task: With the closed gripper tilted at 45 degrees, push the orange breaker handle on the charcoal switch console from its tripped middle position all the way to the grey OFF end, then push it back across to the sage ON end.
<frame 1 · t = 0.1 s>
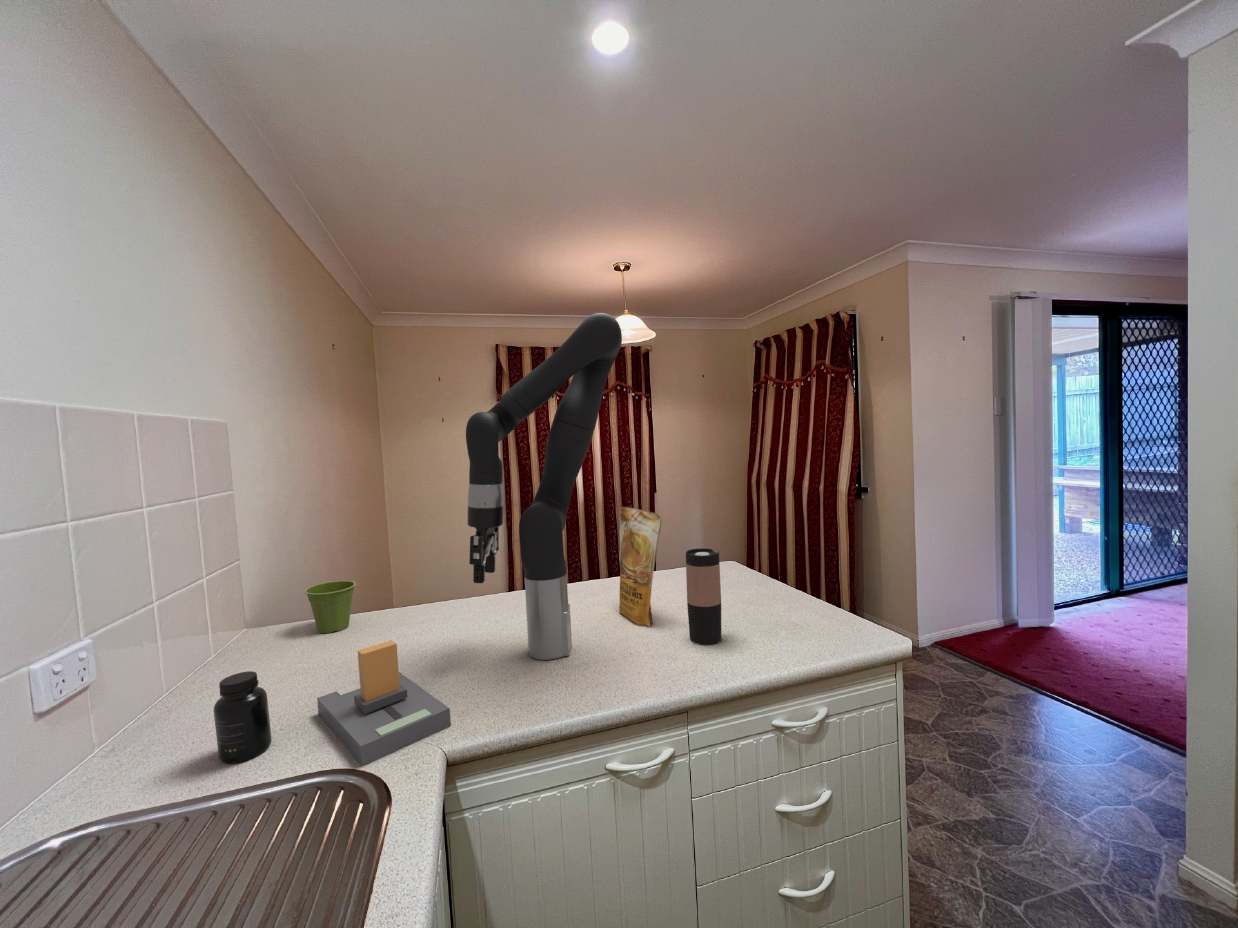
hand: (484, 577, 114), 17 cm above the countertop, tool pointing down, fingers open, 8 cm apart
switch console: (382, 719, 89), on the countertop
plant pot: (333, 629, 136), on the countertop
travel mug: (705, 639, 118), on the countertop
supplement bottle: (245, 752, 82), on the countertop
pancake mix bag: (638, 617, 134), on the countertop
breaker handle: (379, 673, 89), point 8 cm above the countertop, slide at 0.0 cm
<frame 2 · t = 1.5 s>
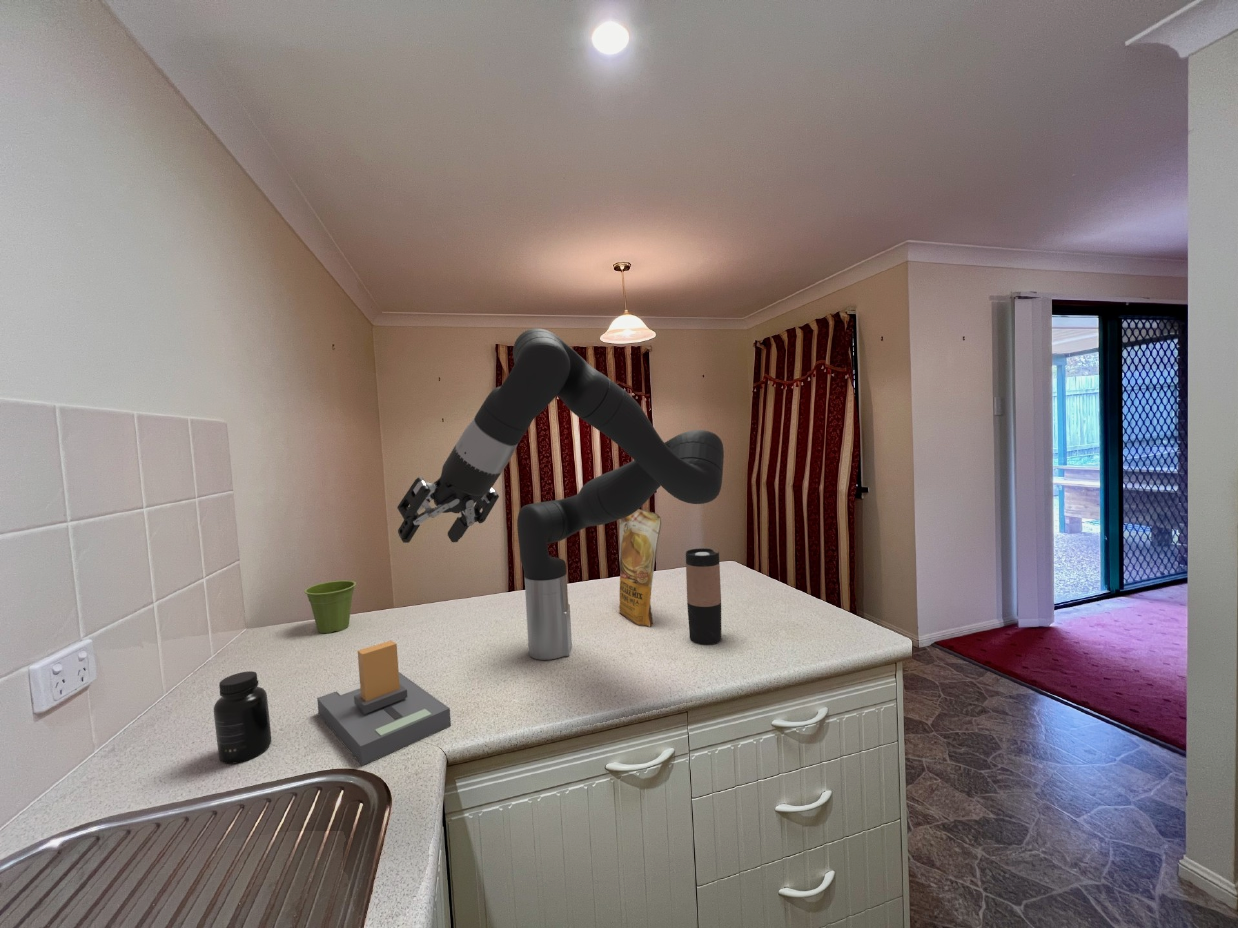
hand: (428, 538, 79), 33 cm above the countertop, tool tilted 40°, fingers open, 8 cm apart
nothing on the countertop moved.
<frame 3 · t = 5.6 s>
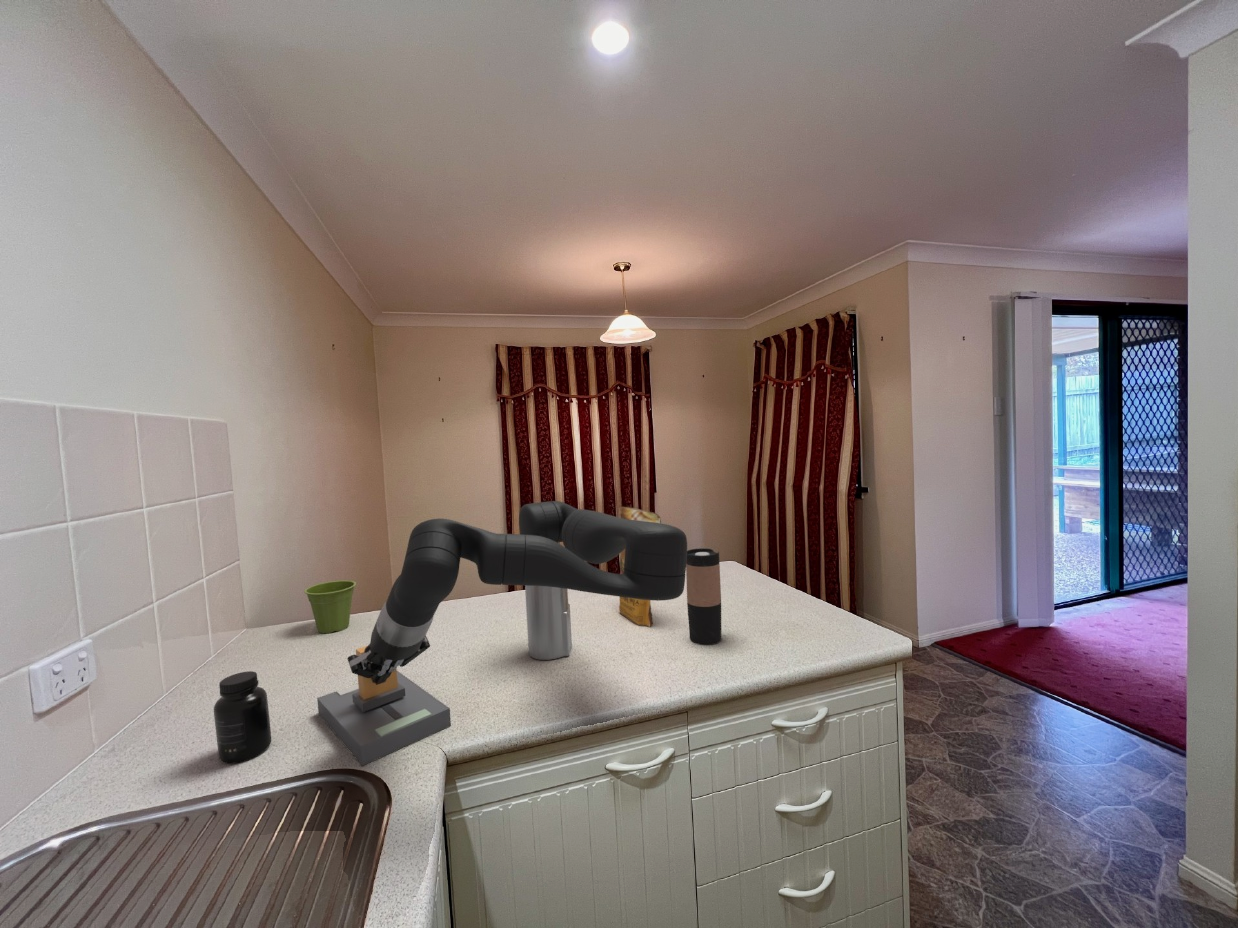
hand: (378, 678, 88), 8 cm above the countertop, tool tilted 45°, fingers closed
breaker handle: (377, 672, 89), point 8 cm above the countertop, slide at -0.8 cm, touching gripper
everything else where it was.
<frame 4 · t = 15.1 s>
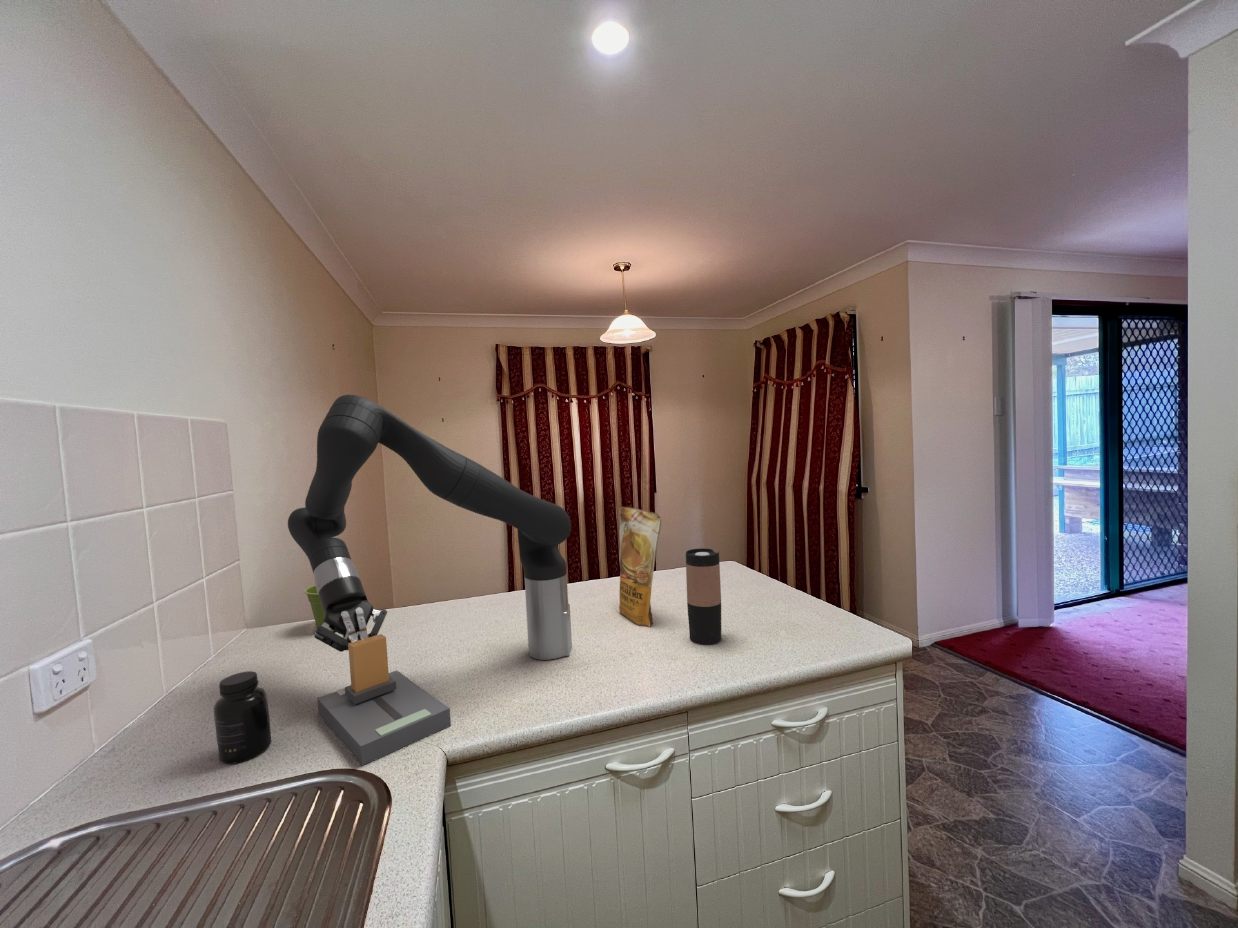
hand: (366, 664, 94), 8 cm above the countertop, tool tilted 45°, fingers closed
breaker handle: (369, 666, 92), point 8 cm above the countertop, slide at -4.7 cm, touching gripper
everything else where it was.
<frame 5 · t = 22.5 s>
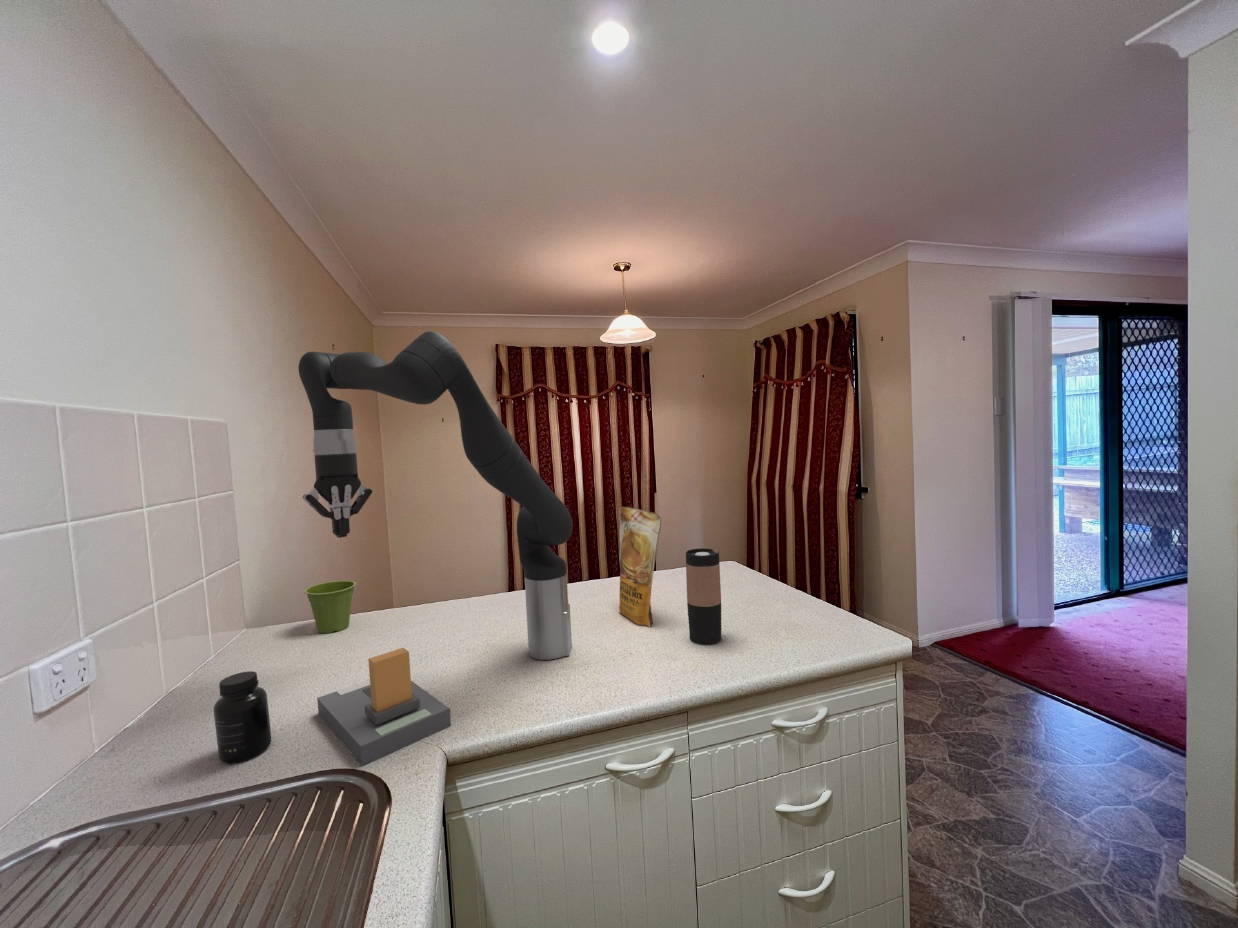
hand: (341, 536, 106), 29 cm above the countertop, tool pointing down, fingers closed
breaker handle: (390, 682, 85), point 8 cm above the countertop, slide at 5.0 cm
everything else where it was.
at the end: breaker handle slide at 5.0 cm; supplement bottle moved 0.2 cm from its start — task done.
